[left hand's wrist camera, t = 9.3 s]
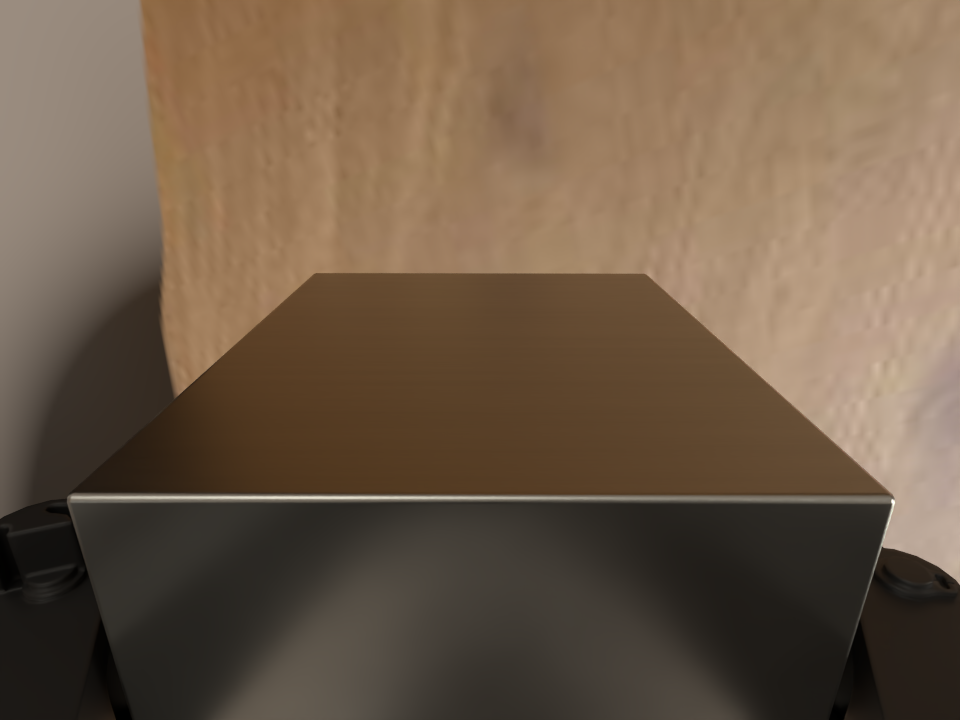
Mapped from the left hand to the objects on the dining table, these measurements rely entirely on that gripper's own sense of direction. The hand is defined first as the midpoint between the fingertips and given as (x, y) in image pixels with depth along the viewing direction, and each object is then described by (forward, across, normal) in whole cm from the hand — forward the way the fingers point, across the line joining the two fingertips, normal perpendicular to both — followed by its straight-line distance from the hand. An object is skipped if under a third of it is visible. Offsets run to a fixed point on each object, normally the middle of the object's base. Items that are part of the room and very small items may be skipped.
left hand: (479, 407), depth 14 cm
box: (0, 0, -7) cm, 7 cm away
